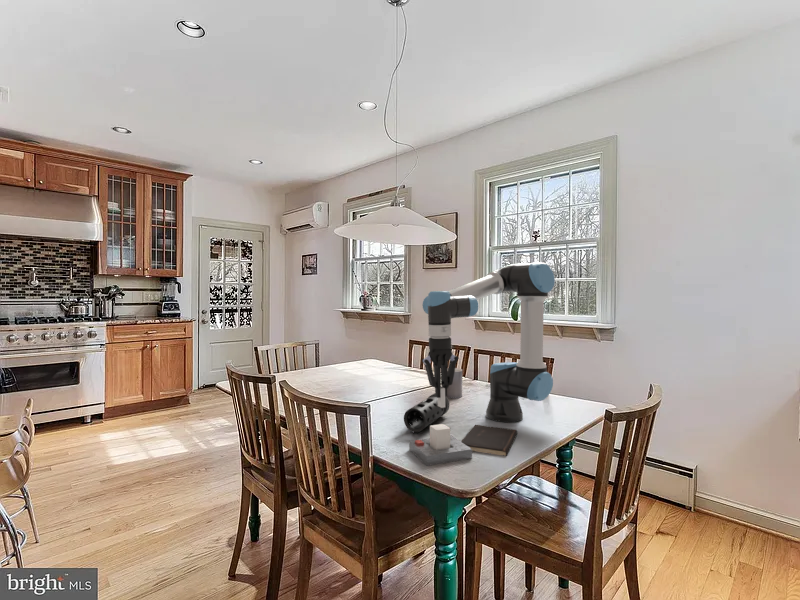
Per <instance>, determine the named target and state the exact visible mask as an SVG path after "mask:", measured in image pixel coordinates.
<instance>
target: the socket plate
mask: <svg viewBox="0 0 800 600" xmlns="http://www.w3.org/2000/svg"><path fill="white" fill-rule="evenodd" d="M461 441H462V440H461ZM461 441H460V440H459V439H458V438H456V437H455V436H453V435H451V434H450V448H446V449H440V450H434V449H433V448H432V447H430V437H429V438H424V439H423V438H422V439H415V440H409V442H408V447H409V448H408V450H409V451H410V453H412V454H413V455H414V456H415V457H416V458H417V459H419V461H421V462H422V464H424V465H425V466H426V467H427V466H428V467H429V466H434V465H440V464H447V463H451V462H459V461H463V460H464V461H465V460H469V459H473V451H472V449H471V448H470V447H468V446H467V445H465V444H464V443H462V442H461Z"/></svg>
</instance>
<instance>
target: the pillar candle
mask: <svg viewBox="0 0 800 600" xmlns="http://www.w3.org/2000/svg"><path fill="white" fill-rule="evenodd" d="M448 368H449V367H447V373H448ZM460 397H461V398H463V369H462V368H458V367H455V372H454V377H453V383H452V385H449V387H448V388H447V398H448V399H460Z"/></svg>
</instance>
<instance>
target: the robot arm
mask: <svg viewBox="0 0 800 600" xmlns="http://www.w3.org/2000/svg"><path fill="white" fill-rule="evenodd" d="M555 279H556V278H555V274H554V271H553V269H552V268H551V266H549V264H547V263H545V262H536V261H535V262H526V263H524V262H523V263H511V264H508V265H505V266H503V267H500V268H497V269H495V270H493V271H490V272H488V273H487V274H486V276H484V277H481V278H478V279H475V280H474V281H473V280H472V281H471V282H468V283H466V284H463V285H460V286H458V287H457V286H456V287H455V288H452V289H450V290H435V291H434V290H433V291H429V293H427V296H425V298H423V301H422V309H423V312H424V313H425V314H427V319H428V321H427V322H428V336H429V338H428V348H429V350H428V353H427V356H426V357H425V358H422V359H421V362H422V364H424V368H425V371H426V375H427V379H428V383H429V386H430V387H433V388H434V393H435V396H436V397H437V398H438V406H439V407H441V408H444V407H445V397H447V388H448V387H449V385H452V383H453V377H454V372H455V368H457V367H456V366H457V365H456V364H457V363H458V361H459V357H458V356H457V355H455V354H453V351H452V338H451V336H452V319H457V318H459V319H460V318H469V317H474V316H476V314H477V313H478V311H479V300H482V299H483V298H486V297H488V296H491V295H499V294H503V293H516V295H517V296H516V297H517V298H518V299H519V300H520V344H519V345H520V347H519V348H520V352H519V353H520V354H519V358H520V359H519V361H518V362H513V361H512V362H510V361H509V362H508V361H507V362H497V363H493V364H491V366H490V373H489V380H490V381H489V383H490V386H489V387H490V388H489V389H490V391H489V393H490V394H489V395H490V397H489V401H488V405H487V407H486V411H485V417H486V418H487V419H489V420H491V421H494V422H495V421H496V422H502V423H515V422H519V421H522V420H523V417H524V415H523V414H524V413H523V410H522V406H521V403H520V401H519V398H522V399H523V398H524V399H526V400H529V401H536V402H543V401H544V400H545V399H547V398H548V397H549V395H550V394H551V392H552V390H553V386H554V379H553V378H554V377H553V376H552V374H551V373H549V371H548V368H547V364H545V362H544V361H543V357H544V307H545V306H544V302H545V300H547V299H548V297H549V293H550V292H551V291H552V290H554V288H553V287H555ZM431 363H432V364H433V365H431ZM432 366H433V367H432ZM447 368H448V373H447Z"/></svg>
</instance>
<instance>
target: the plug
mask: <svg viewBox="0 0 800 600" xmlns="http://www.w3.org/2000/svg"><path fill="white" fill-rule="evenodd" d="M450 435H451V427H449V426H447V425H446V424H444V423H440V424H433V425H431V424H430V425H429V438H430V447H432V448H433V449H434V450H440V449H446V448H450Z"/></svg>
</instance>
